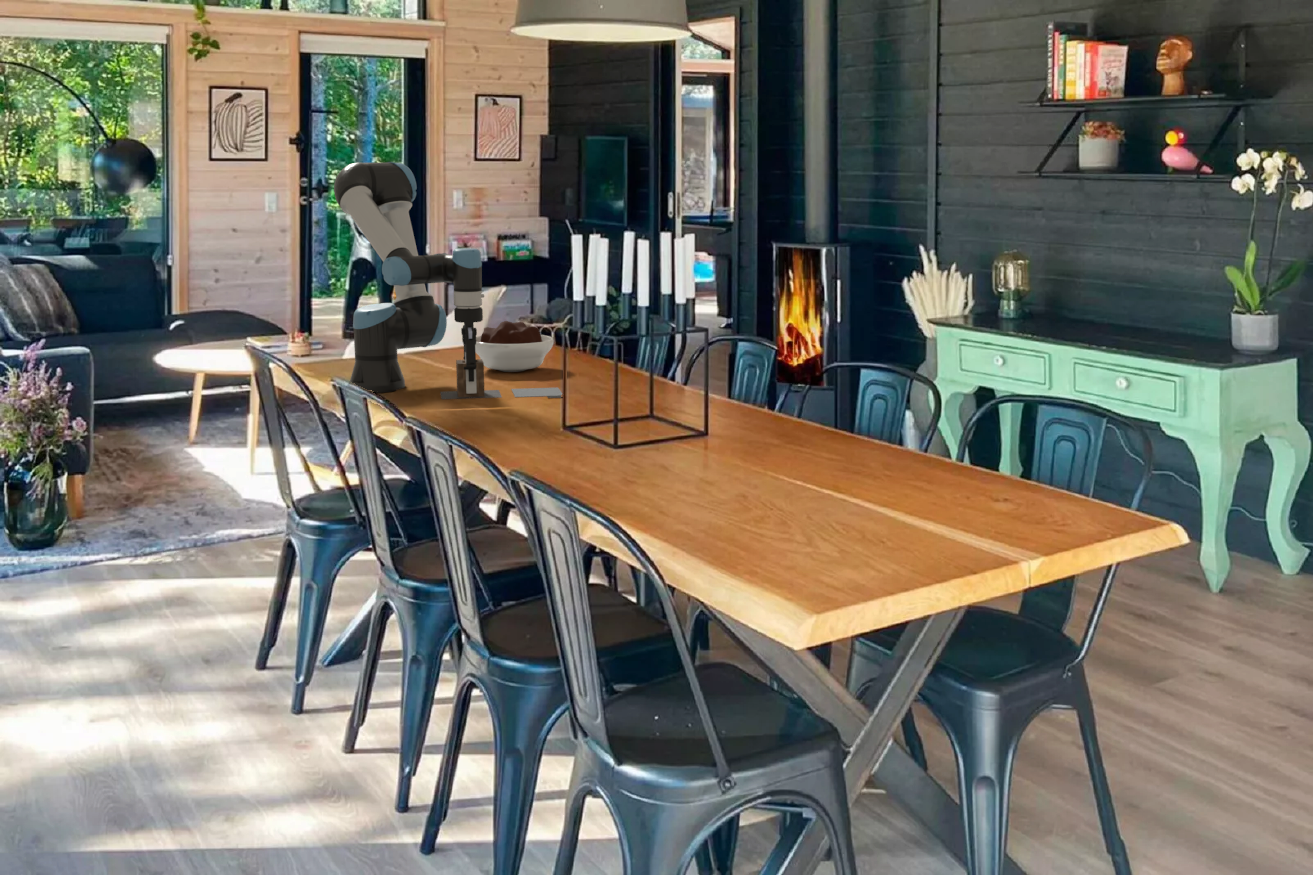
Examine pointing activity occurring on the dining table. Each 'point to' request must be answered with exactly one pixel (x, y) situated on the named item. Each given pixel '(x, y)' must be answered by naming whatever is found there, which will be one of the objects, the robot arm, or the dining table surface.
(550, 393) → the slate mat
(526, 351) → the white ceramic bowl
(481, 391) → the walnut collar
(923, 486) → the dining table surface
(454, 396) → the post stand
